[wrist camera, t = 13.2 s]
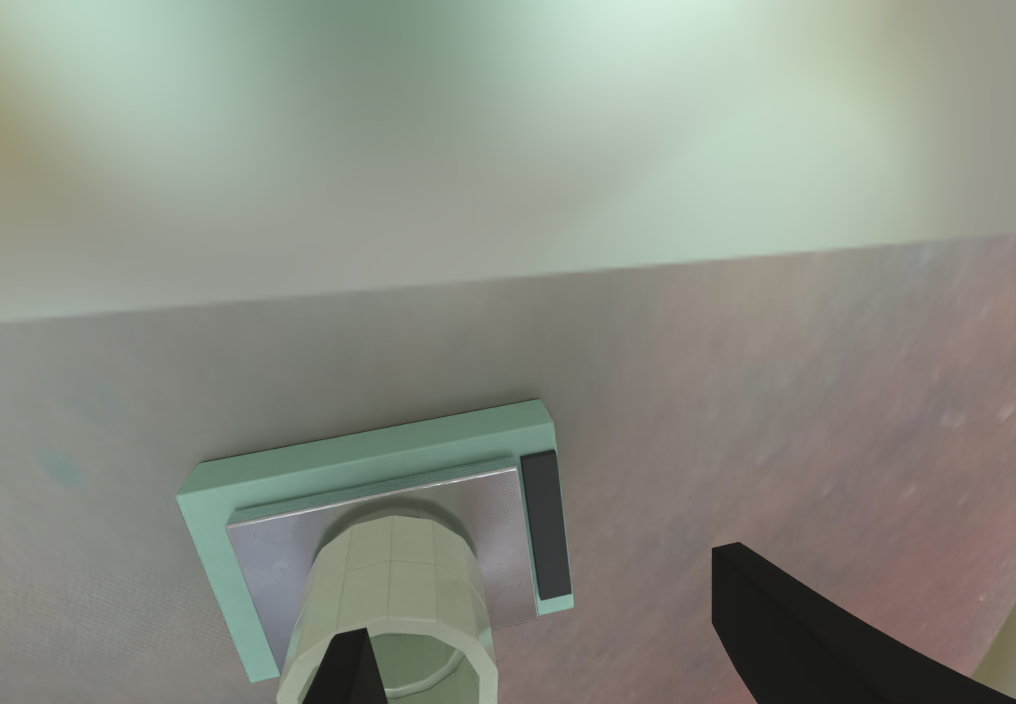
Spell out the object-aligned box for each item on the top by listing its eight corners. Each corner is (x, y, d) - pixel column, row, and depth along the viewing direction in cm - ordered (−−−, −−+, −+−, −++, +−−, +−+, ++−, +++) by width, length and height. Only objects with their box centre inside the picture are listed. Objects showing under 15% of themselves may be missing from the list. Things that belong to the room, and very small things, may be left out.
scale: (263, 639, 21) (247, 692, 19) (197, 462, 19) (169, 502, 17) (561, 571, 23) (577, 614, 21) (541, 397, 20) (557, 425, 18)
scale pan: (286, 661, 19) (281, 681, 19) (231, 510, 17) (222, 526, 16) (535, 603, 20) (539, 620, 20) (513, 454, 18) (518, 466, 17)
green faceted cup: (362, 666, 19) (348, 810, 15) (274, 552, 17) (230, 681, 13) (504, 598, 19) (530, 722, 15) (433, 477, 17) (440, 581, 13)
